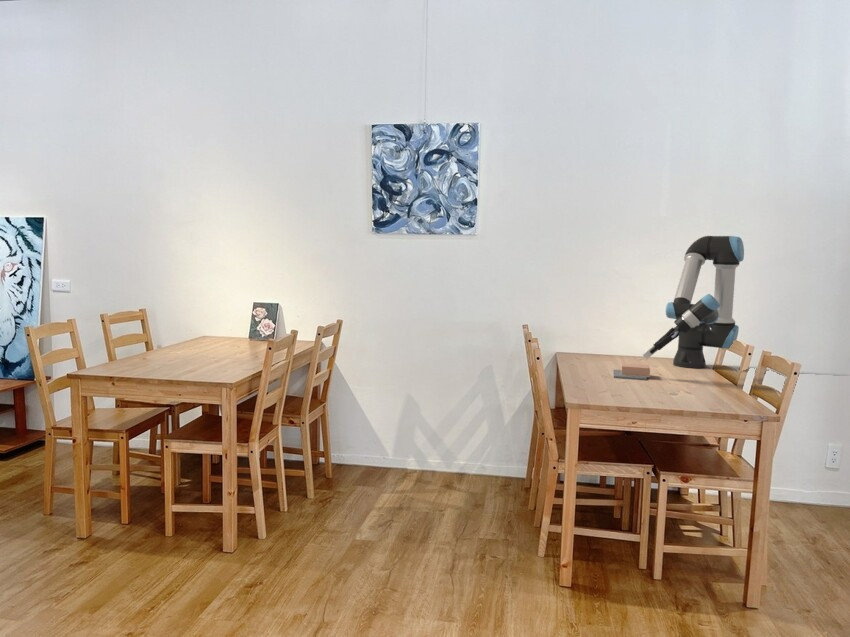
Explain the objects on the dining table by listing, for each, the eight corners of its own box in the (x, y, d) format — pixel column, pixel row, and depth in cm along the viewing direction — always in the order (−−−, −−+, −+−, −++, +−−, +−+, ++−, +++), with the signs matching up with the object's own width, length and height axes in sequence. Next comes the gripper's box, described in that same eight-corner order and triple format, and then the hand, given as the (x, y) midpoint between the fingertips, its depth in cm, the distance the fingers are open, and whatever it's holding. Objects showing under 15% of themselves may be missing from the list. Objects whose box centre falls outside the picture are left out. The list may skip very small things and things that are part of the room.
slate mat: (644, 373, 306) (644, 371, 306) (646, 380, 291) (646, 378, 291) (613, 371, 310) (613, 369, 310) (613, 377, 294) (613, 375, 294)
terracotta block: (648, 364, 302) (621, 362, 305) (650, 368, 293) (622, 366, 296) (648, 373, 302) (621, 371, 306) (649, 377, 294) (621, 375, 297)
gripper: (694, 330, 285) (651, 365, 291) (690, 326, 297) (649, 360, 303) (682, 317, 285) (639, 353, 292) (679, 314, 298) (637, 348, 304)
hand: (644, 357), depth 298 cm, fingers closed
